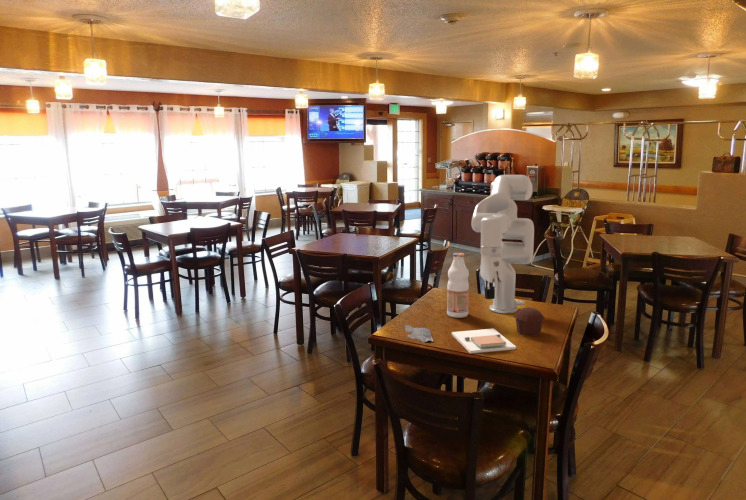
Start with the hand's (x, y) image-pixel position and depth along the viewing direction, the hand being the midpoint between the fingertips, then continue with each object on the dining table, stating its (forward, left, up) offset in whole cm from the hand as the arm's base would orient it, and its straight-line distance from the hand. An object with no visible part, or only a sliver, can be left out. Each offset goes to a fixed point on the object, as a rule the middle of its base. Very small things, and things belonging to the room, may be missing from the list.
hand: (489, 298), depth 195 cm
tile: (+1, +1, -16) cm, 16 cm away
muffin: (-21, -9, -19) cm, 30 cm away
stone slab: (+23, -17, -19) cm, 34 cm away
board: (+1, -4, -18) cm, 19 cm away
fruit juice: (-1, -37, -19) cm, 41 cm away
